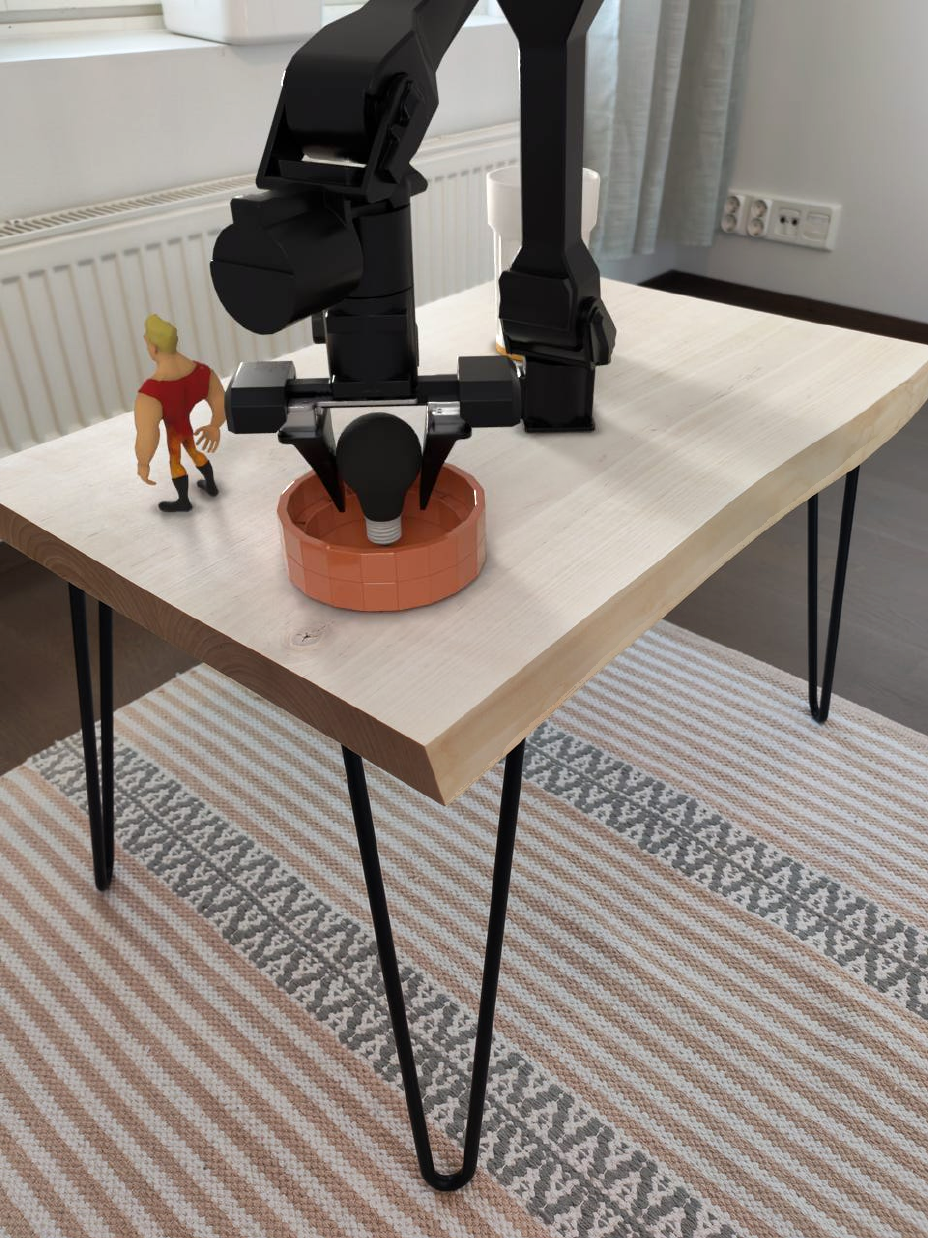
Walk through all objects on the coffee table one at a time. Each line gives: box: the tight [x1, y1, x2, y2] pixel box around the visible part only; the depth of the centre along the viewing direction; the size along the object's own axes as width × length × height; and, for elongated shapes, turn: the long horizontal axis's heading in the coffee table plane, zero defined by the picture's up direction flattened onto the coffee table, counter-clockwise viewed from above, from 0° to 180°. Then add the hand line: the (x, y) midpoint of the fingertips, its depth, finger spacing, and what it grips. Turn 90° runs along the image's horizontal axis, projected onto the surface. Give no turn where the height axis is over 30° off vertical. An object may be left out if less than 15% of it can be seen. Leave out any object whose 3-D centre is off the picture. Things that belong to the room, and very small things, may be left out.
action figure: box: [133, 313, 227, 513], centre depth 75 cm, size 10×4×15 cm, turn 149°
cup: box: [486, 164, 601, 362], centre depth 101 cm, size 11×11×17 cm
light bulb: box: [336, 411, 423, 547], centre depth 68 cm, size 6×6×10 cm
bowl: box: [276, 461, 487, 612], centre depth 70 cm, size 14×14×5 cm
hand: (383, 508), depth 69 cm, fingers closed on light bulb, 5 cm apart
